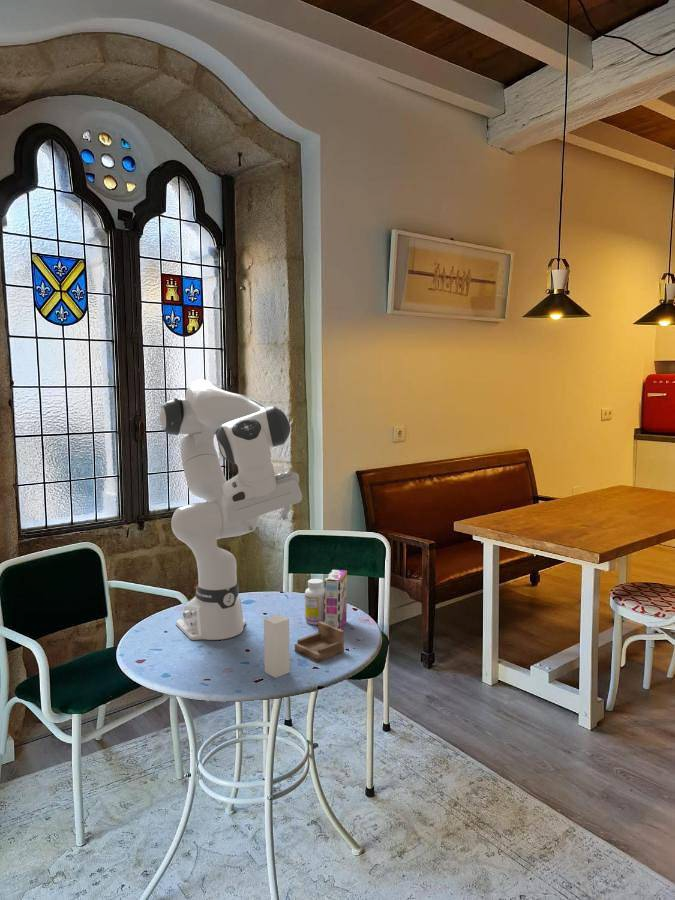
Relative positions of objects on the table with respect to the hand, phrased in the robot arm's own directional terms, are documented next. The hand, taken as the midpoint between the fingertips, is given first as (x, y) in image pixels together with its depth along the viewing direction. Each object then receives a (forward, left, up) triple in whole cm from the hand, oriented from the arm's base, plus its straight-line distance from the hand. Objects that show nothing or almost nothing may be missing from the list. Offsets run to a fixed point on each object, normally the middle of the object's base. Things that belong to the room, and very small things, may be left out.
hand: (267, 523), depth 164 cm
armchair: (+5, +13, -37) cm, 39 cm away
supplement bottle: (-13, +27, -37) cm, 48 cm away
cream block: (+7, -3, -37) cm, 38 cm away
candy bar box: (-4, +28, -37) cm, 47 cm away
